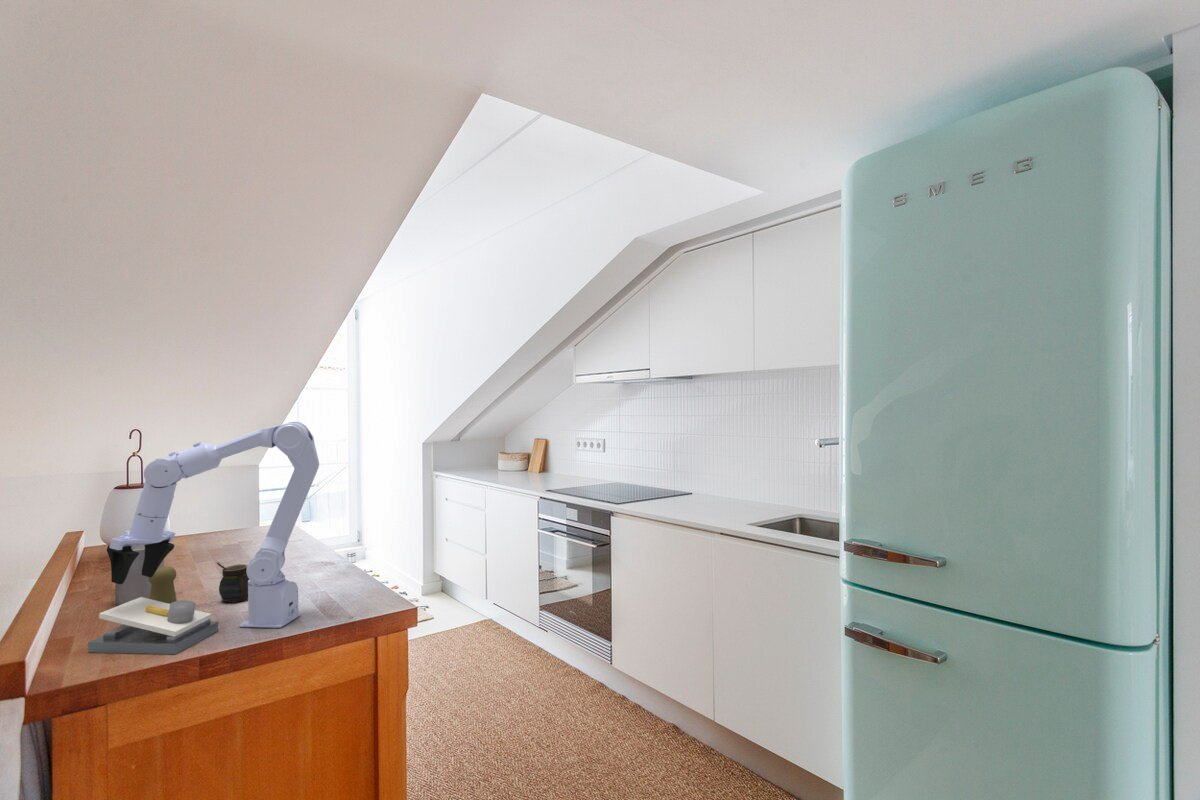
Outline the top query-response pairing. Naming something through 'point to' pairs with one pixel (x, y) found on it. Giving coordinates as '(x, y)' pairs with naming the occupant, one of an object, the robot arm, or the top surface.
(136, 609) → the plate
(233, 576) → the mate gourd
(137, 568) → the pillar candle
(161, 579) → the cork
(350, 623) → the top surface
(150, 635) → the grey rectangular base
